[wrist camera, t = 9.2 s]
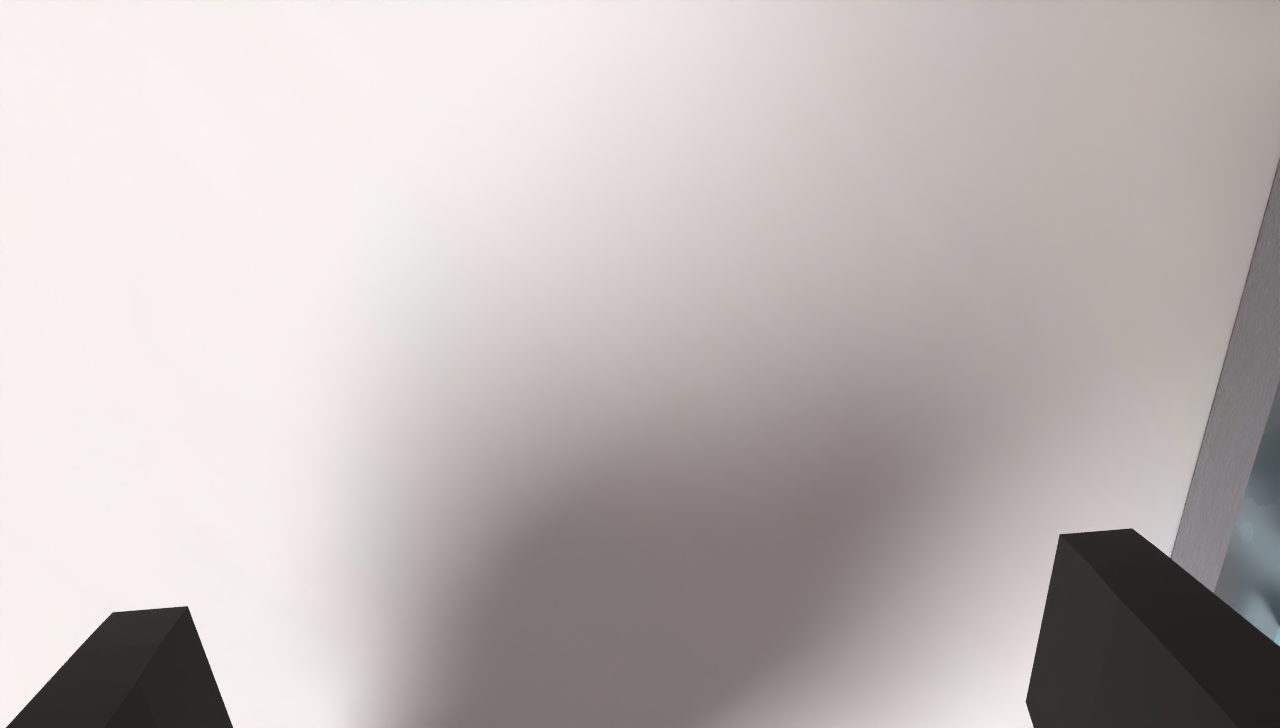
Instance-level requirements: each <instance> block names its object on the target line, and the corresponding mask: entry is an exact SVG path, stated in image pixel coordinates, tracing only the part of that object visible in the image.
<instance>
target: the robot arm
mask: <svg viewBox="0 0 1280 728" xmlns="http://www.w3.org/2000/svg"><path fill="white" fill-rule="evenodd" d="M1026 704H1027V707H1028V711H1029V714H1030V717H1031V720H1032V723H1033V726H1034V728H1280V646H1279V645H1277V644H1276V643H1275V642H1274V641H1272V640H1271V639H1270V638H1269V637H1267V636H1266V635H1265V634H1264V633H1262V632H1261V631H1260V630H1259V629H1257V628H1256V627H1255V626H1254V625H1252V624H1251V623H1250V622H1249V621H1247V620H1246V619H1245V618H1244V617H1242V616H1241V615H1240V614H1239V613H1237V612H1236V611H1235V610H1234V609H1232V608H1231V607H1230V606H1229V605H1228V604H1226V603H1225V602H1224V601H1223V600H1221V599H1220V598H1219V597H1218V596H1216V595H1215V594H1214V593H1213V592H1211V591H1210V590H1209V589H1208V588H1207V587H1205V586H1204V585H1203V584H1202V583H1200V582H1199V581H1198V580H1197V579H1195V578H1194V577H1193V576H1192V575H1190V574H1189V573H1188V572H1187V571H1185V570H1184V569H1183V568H1182V567H1181V566H1179V565H1178V564H1177V563H1176V562H1174V561H1173V560H1172V559H1171V558H1169V557H1168V556H1167V555H1166V554H1164V553H1163V552H1162V551H1160V550H1159V549H1158V548H1157V547H1155V546H1154V545H1153V544H1152V543H1150V542H1149V541H1148V540H1146V539H1145V538H1144V537H1142V536H1141V535H1140V534H1139V533H1137V532H1136V531H1135V530H1133V529H1120V530H1108V531H1096V532H1084V533H1072V534H1060V535H1059V540H1058V545H1057V550H1056V555H1055V560H1054V565H1053V570H1052V575H1051V580H1050V585H1049V590H1048V595H1047V600H1046V605H1045V609H1044V614H1043V619H1042V624H1041V629H1040V634H1039V639H1038V644H1037V649H1036V654H1035V659H1034V664H1033V669H1032V674H1031V679H1030V684H1029V688H1028V693H1027V698H1026ZM6 728H233V726H232V724H231V721H230V718H229V716H228V713H227V710H226V708H225V705H224V702H223V700H222V697H221V694H220V692H219V689H218V686H217V683H216V681H215V678H214V675H213V673H212V670H211V667H210V665H209V662H208V659H207V657H206V654H205V651H204V649H203V646H202V643H201V641H200V638H199V635H198V633H197V630H196V627H195V625H194V622H193V619H192V617H191V614H190V611H189V609H188V606H185V607H173V608H161V609H149V610H137V611H125V612H113V613H112V614H111V615H110V616H109V617H108V618H107V619H106V620H105V621H104V622H103V623H102V624H101V625H100V626H99V627H98V628H97V629H96V630H95V631H94V632H93V634H92V635H91V636H90V637H89V638H88V639H87V640H86V641H85V642H84V643H83V644H82V645H81V646H80V647H79V649H78V650H77V651H76V652H75V653H74V654H73V655H72V656H71V657H70V658H69V659H68V661H67V662H66V663H65V664H64V665H63V666H62V667H61V668H60V669H59V670H58V671H57V673H56V674H55V675H54V676H53V677H52V678H51V679H50V680H49V681H48V682H47V683H46V685H45V686H44V687H43V688H42V689H41V690H40V691H39V692H38V693H37V694H36V695H35V697H34V698H33V699H32V700H31V701H30V702H29V703H28V704H27V705H26V706H25V707H24V709H23V710H22V711H21V712H20V713H19V714H18V715H17V716H16V717H15V718H14V719H13V721H12V722H11V723H10V724H9V725H8V726H7V727H6Z"/></svg>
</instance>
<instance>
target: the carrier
mask: <svg viewBox="0 0 1280 728" xmlns="http://www.w3.org/2000/svg"><path fill="white" fill-rule="evenodd" d="M1171 559H1172V560H1173V561H1174V562H1176V563H1177V564H1178V565H1179V566H1181V567H1182V568H1183V569H1184V570H1185V571H1187V572H1188V573H1189V574H1190V575H1192V576H1193V577H1194V578H1195V579H1197V580H1198V581H1199V582H1200V583H1202V584H1203V585H1204V586H1205V587H1207V588H1208V589H1209V590H1210V591H1211V592H1213V593H1214V594H1215V595H1216V596H1218V597H1219V598H1220V599H1221V600H1223V601H1224V602H1225V603H1226V604H1228V605H1229V606H1230V607H1231V608H1232V609H1234V610H1235V611H1236V612H1237V613H1239V614H1240V615H1241V616H1242V617H1244V618H1245V619H1246V620H1247V621H1249V622H1250V623H1251V624H1252V625H1254V626H1255V627H1256V628H1257V629H1259V630H1260V631H1261V632H1262V633H1264V634H1265V635H1266V636H1267V637H1269V638H1270V639H1271V640H1272V641H1274V640H1275V637H1276V634H1277V632H1278V629H1279V626H1280V162H1279V165H1278V169H1277V173H1276V176H1275V180H1274V184H1273V187H1272V191H1271V195H1270V198H1269V202H1268V206H1267V209H1266V213H1265V216H1264V220H1263V224H1262V227H1261V231H1260V235H1259V238H1258V242H1257V246H1256V249H1255V253H1254V257H1253V260H1252V264H1251V268H1250V271H1249V275H1248V279H1247V282H1246V286H1245V290H1244V293H1243V297H1242V300H1241V304H1240V308H1239V311H1238V315H1237V319H1236V322H1235V326H1234V330H1233V333H1232V337H1231V341H1230V344H1229V348H1228V352H1227V355H1226V359H1225V363H1224V366H1223V370H1222V374H1221V377H1220V381H1219V384H1218V388H1217V392H1216V395H1215V399H1214V403H1213V406H1212V410H1211V414H1210V417H1209V421H1208V425H1207V428H1206V432H1205V436H1204V439H1203V443H1202V447H1201V450H1200V454H1199V458H1198V461H1197V465H1196V468H1195V472H1194V476H1193V479H1192V483H1191V487H1190V490H1189V494H1188V498H1187V501H1186V505H1185V509H1184V512H1183V516H1182V520H1181V523H1180V527H1179V531H1178V534H1177V538H1176V542H1175V545H1174V549H1173V552H1172V556H1171Z"/></svg>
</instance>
